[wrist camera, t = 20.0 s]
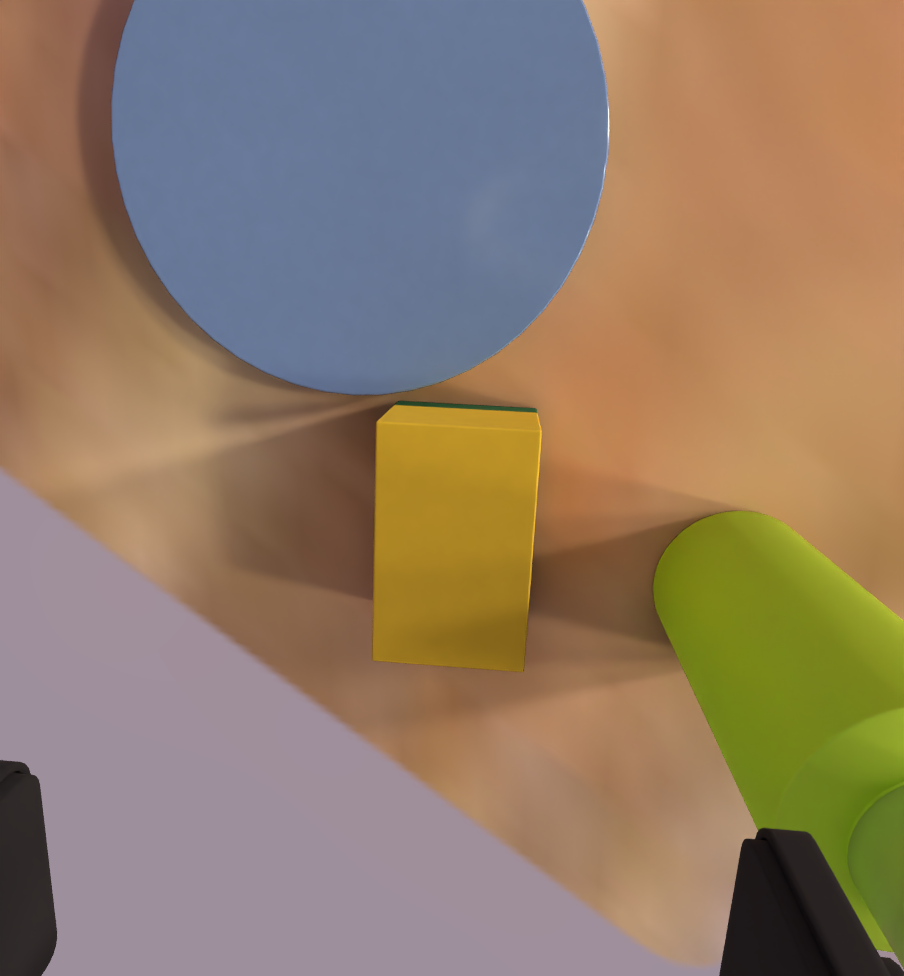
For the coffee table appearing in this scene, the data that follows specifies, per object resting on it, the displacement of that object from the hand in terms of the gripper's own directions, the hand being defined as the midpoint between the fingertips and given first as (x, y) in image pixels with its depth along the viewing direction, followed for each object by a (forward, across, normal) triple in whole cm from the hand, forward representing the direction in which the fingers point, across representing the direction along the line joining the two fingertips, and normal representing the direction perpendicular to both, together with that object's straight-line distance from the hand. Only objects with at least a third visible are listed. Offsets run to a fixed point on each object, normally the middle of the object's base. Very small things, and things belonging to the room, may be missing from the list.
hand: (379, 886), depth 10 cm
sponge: (+18, 0, 0) cm, 18 cm away
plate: (+18, +4, -12) cm, 22 cm away
